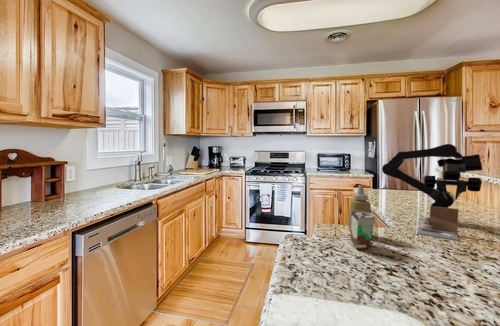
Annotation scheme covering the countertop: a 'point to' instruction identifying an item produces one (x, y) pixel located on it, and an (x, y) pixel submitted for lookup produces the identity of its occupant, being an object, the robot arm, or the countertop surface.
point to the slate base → (439, 234)
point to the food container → (361, 229)
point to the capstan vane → (441, 220)
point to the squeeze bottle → (359, 204)
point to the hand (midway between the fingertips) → (451, 198)
